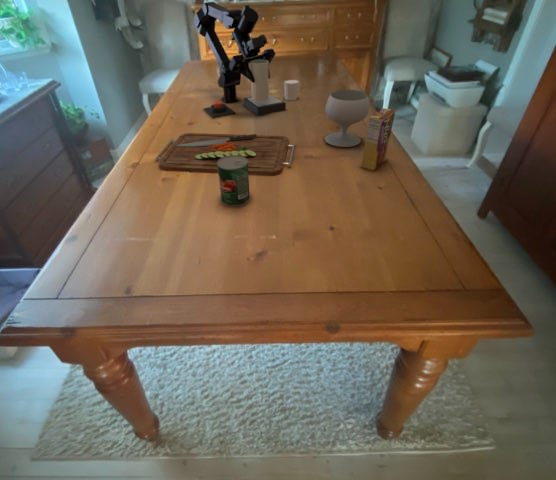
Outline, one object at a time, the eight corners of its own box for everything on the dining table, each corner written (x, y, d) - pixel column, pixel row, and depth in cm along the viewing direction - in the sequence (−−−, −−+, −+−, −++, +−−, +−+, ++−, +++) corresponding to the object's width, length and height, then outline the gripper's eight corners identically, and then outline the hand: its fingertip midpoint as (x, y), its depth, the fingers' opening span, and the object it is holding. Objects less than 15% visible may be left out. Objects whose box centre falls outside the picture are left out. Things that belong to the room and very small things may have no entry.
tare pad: (203, 110, 150) (202, 103, 149) (224, 106, 153) (224, 100, 151) (212, 118, 142) (211, 112, 140) (235, 114, 145) (234, 108, 143)
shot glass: (297, 101, 154) (298, 83, 150) (282, 100, 156) (282, 83, 151) (299, 96, 159) (300, 79, 155) (284, 95, 161) (284, 79, 156)
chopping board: (148, 169, 111) (146, 160, 109) (176, 135, 130) (174, 127, 128) (288, 176, 104) (289, 166, 102) (296, 140, 123) (296, 131, 121)
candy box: (372, 156, 112) (383, 107, 101) (385, 160, 109) (397, 110, 99) (359, 167, 107) (369, 116, 96) (372, 171, 105) (383, 119, 94)
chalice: (336, 152, 115) (343, 104, 105) (315, 137, 124) (318, 92, 114) (371, 144, 119) (380, 97, 108) (347, 130, 128) (354, 86, 118)
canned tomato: (216, 204, 94) (211, 166, 87) (228, 189, 100) (224, 153, 92) (243, 208, 92) (240, 170, 84) (254, 194, 97) (252, 157, 90)
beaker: (249, 100, 138) (248, 63, 129) (254, 94, 143) (253, 59, 134) (265, 101, 137) (265, 64, 128) (270, 95, 141) (270, 59, 132)
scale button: (213, 106, 147) (212, 102, 146) (221, 104, 148) (220, 100, 147) (215, 108, 144) (215, 104, 143) (223, 107, 146) (223, 103, 144)
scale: (243, 105, 153) (243, 97, 151) (269, 100, 157) (269, 92, 154) (257, 115, 143) (257, 107, 140) (285, 110, 146) (285, 101, 144)
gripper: (230, 30, 122) (249, 71, 123) (272, 23, 130) (290, 62, 131) (221, 52, 133) (238, 89, 133) (261, 44, 140) (277, 80, 141)
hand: (261, 80), depth 134 cm, fingers closed on beaker, 7 cm apart
